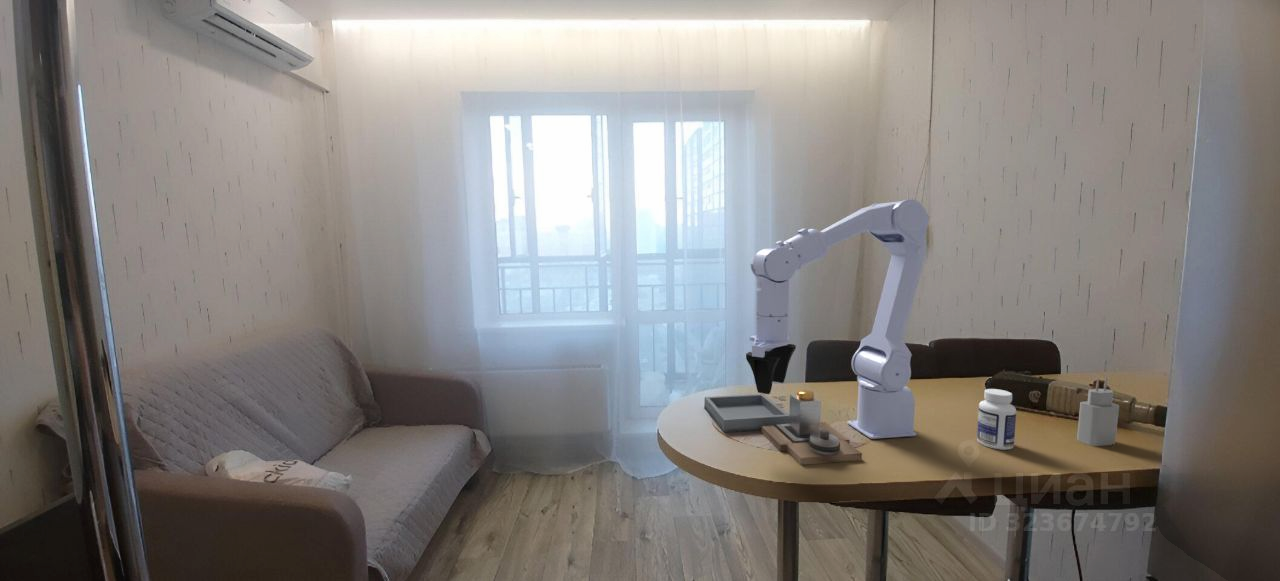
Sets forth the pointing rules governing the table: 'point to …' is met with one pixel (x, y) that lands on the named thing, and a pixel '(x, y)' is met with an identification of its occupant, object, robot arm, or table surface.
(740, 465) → the table surface
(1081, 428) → the power adapter
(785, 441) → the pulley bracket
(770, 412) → the tray
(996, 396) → the pill bottle
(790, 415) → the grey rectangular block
